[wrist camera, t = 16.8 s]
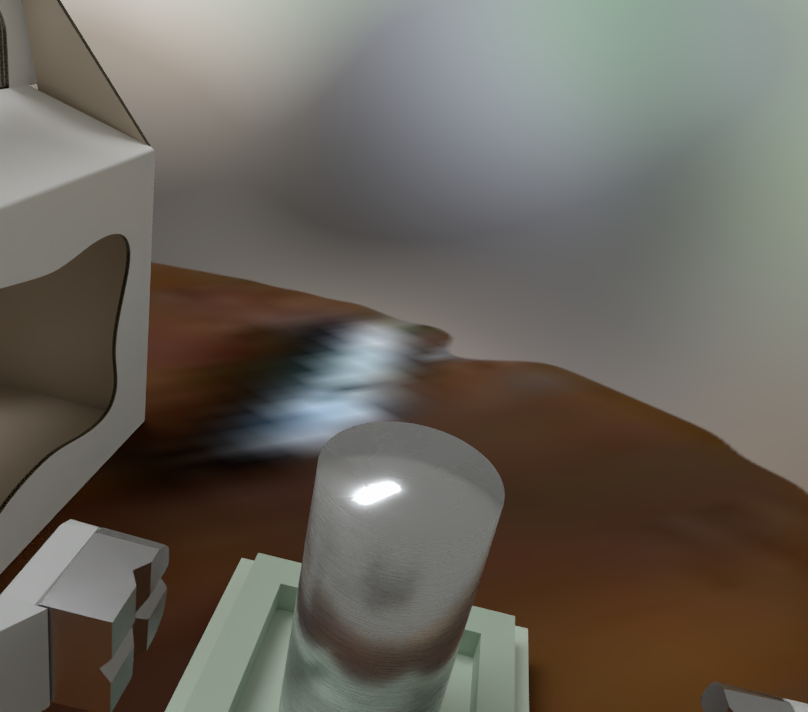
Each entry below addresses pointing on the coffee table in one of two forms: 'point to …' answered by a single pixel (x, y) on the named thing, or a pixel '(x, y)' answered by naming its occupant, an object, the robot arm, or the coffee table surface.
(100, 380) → the gable box
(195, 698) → the plate
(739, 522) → the coffee table surface
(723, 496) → the coffee table surface
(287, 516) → the coffee table surface
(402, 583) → the brushed metal cylinder
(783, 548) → the coffee table surface
